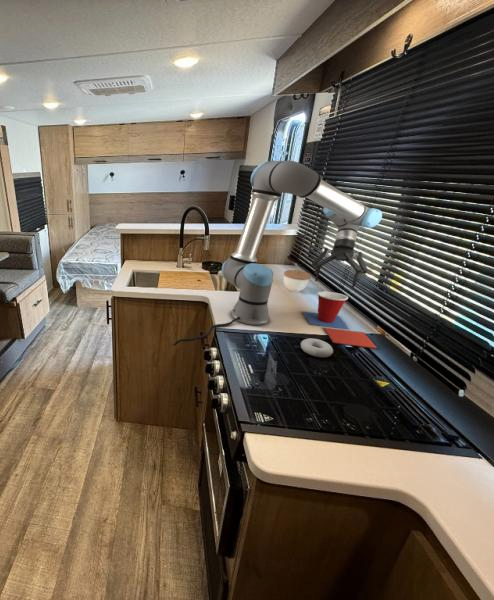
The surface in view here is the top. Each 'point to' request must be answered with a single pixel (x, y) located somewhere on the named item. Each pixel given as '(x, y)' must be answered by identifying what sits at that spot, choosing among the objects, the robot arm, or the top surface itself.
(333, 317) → the plastic cup
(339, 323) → the blue mat
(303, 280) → the white bowl with cork
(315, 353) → the donut
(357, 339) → the red mat
